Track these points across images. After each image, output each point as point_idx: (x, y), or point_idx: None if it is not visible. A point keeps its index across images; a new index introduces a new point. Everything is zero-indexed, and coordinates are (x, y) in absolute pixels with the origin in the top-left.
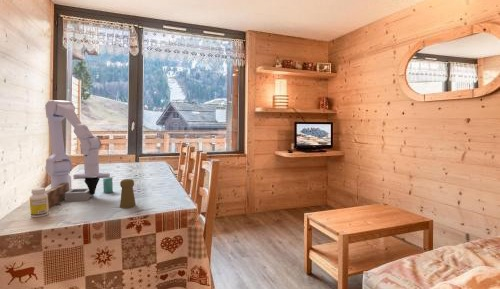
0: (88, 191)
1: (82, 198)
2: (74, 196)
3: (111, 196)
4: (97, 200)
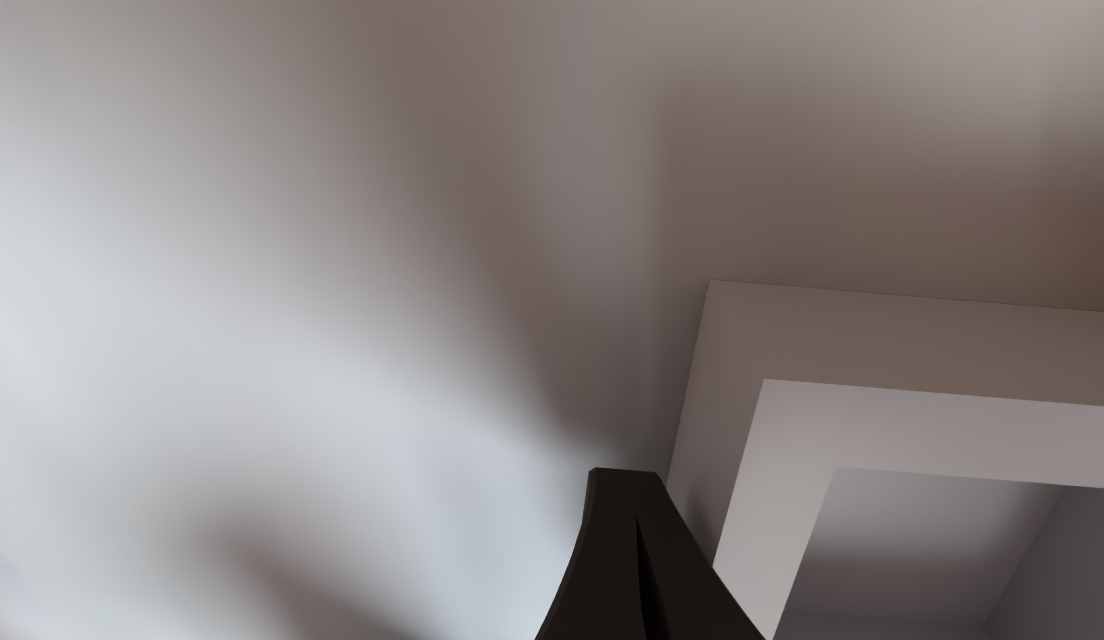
0: (718, 518)
1: (817, 302)
2: (1045, 349)
3: (243, 430)
4: (440, 147)
